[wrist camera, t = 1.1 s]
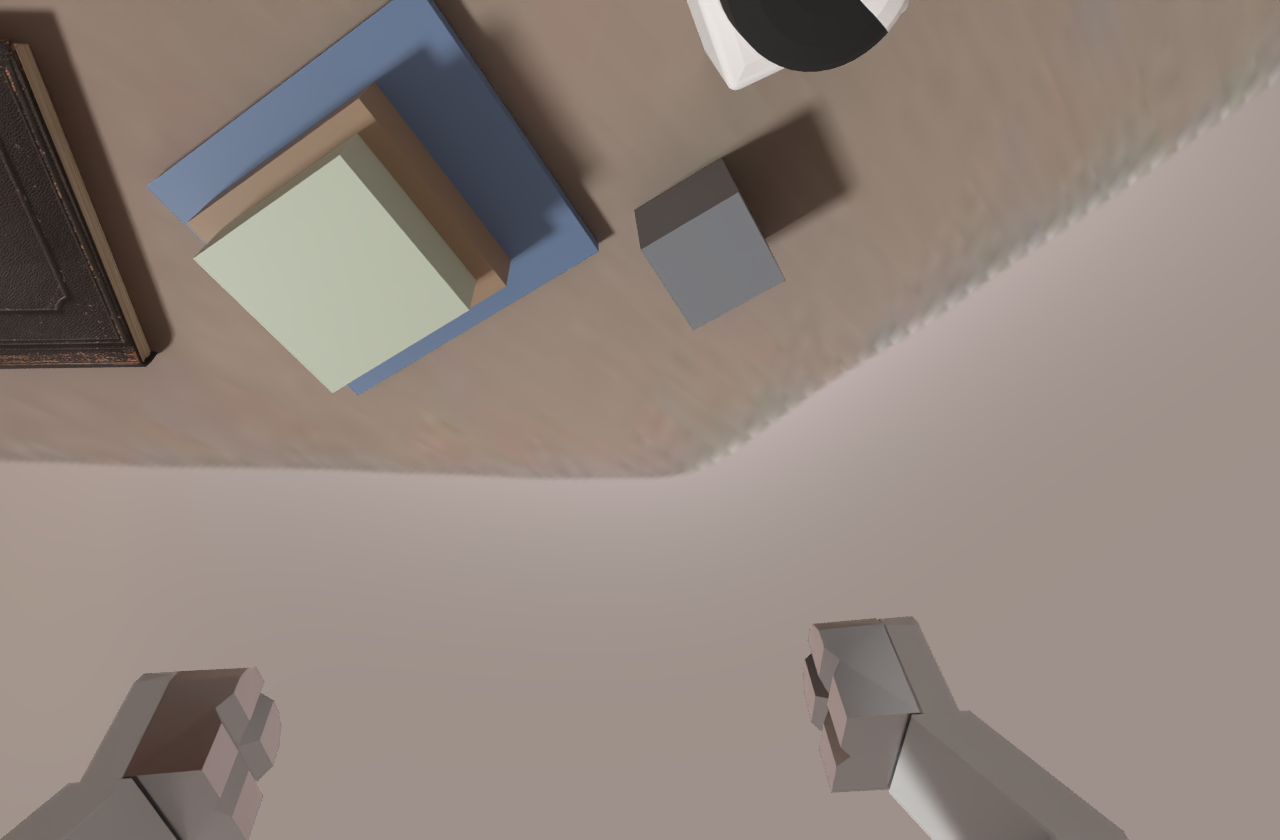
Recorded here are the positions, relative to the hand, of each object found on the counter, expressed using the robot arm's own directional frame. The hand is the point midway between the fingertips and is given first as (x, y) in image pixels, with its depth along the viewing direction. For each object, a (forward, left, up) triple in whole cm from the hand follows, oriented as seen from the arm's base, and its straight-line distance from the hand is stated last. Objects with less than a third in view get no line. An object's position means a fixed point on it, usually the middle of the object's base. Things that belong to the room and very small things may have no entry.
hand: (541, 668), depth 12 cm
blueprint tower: (+10, -1, -31) cm, 32 cm away
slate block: (-3, +8, -31) cm, 32 cm away
